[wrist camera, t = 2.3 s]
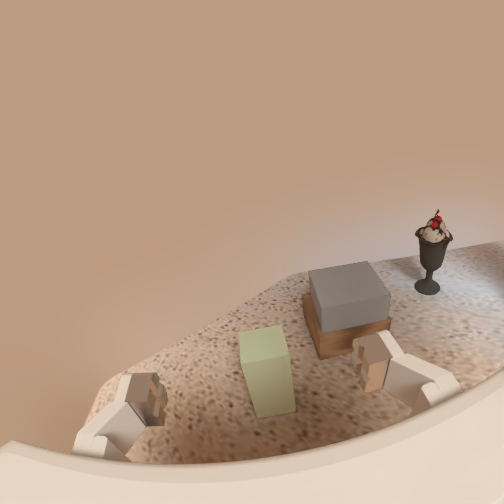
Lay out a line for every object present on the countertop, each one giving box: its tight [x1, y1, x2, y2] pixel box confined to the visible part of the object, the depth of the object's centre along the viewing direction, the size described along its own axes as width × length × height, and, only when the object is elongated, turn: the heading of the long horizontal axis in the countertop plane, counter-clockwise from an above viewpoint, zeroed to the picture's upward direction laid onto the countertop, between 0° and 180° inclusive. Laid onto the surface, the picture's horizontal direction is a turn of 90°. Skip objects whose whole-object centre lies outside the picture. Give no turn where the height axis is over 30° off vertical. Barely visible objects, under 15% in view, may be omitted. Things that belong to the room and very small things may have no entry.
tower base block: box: [302, 293, 391, 360], centre depth 40 cm, size 10×10×4 cm
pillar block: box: [238, 325, 296, 419], centre depth 29 cm, size 4×4×10 cm
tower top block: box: [309, 261, 391, 333], centre depth 38 cm, size 9×9×4 cm
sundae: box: [415, 210, 453, 295], centre depth 41 cm, size 7×7×15 cm
